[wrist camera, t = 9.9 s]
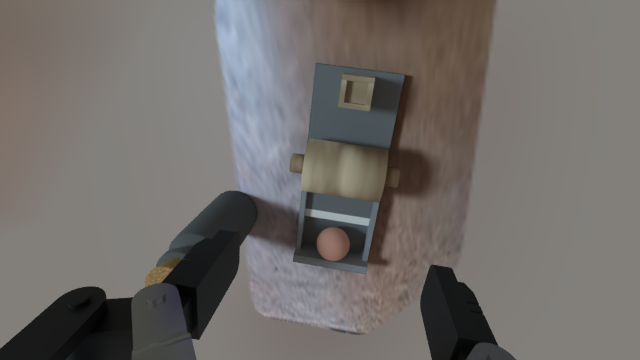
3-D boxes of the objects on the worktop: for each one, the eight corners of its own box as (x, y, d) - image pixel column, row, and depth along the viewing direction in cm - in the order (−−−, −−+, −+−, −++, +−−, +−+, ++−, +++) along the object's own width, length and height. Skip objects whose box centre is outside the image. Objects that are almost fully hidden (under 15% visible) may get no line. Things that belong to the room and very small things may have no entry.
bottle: (208, 192, 40) (127, 264, 26) (251, 187, 39) (190, 259, 25) (221, 232, 42) (152, 318, 28) (262, 228, 41) (212, 315, 27)
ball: (319, 233, 41) (320, 218, 38) (349, 238, 40) (353, 224, 37) (313, 262, 38) (314, 250, 35) (345, 268, 38) (349, 256, 35)
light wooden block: (344, 71, 33) (342, 74, 29) (373, 75, 33) (375, 78, 29) (340, 101, 34) (337, 107, 30) (368, 104, 34) (369, 111, 30)
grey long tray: (317, 63, 33) (312, 63, 30) (403, 74, 32) (407, 75, 29) (297, 247, 41) (293, 261, 39) (365, 259, 41) (365, 274, 38)
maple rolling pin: (294, 177, 37) (283, 197, 32) (299, 130, 35) (288, 143, 30) (390, 192, 36) (395, 214, 31) (400, 145, 34) (407, 161, 29)
